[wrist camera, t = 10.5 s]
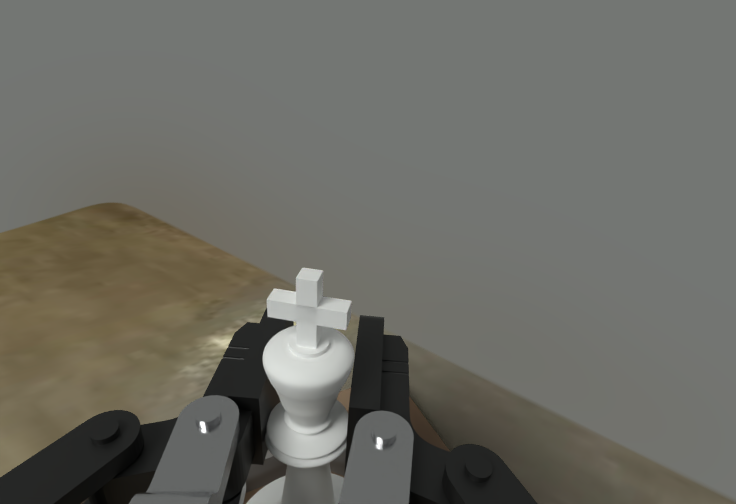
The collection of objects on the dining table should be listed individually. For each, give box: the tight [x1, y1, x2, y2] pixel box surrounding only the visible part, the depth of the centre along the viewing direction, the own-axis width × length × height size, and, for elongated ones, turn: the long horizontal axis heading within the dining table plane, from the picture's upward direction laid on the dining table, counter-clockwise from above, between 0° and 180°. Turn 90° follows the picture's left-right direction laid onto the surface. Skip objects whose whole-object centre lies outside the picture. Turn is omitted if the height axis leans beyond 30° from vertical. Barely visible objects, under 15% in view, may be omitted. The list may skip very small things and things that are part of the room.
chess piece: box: [246, 268, 354, 504], centre depth 12 cm, size 5×5×10 cm
